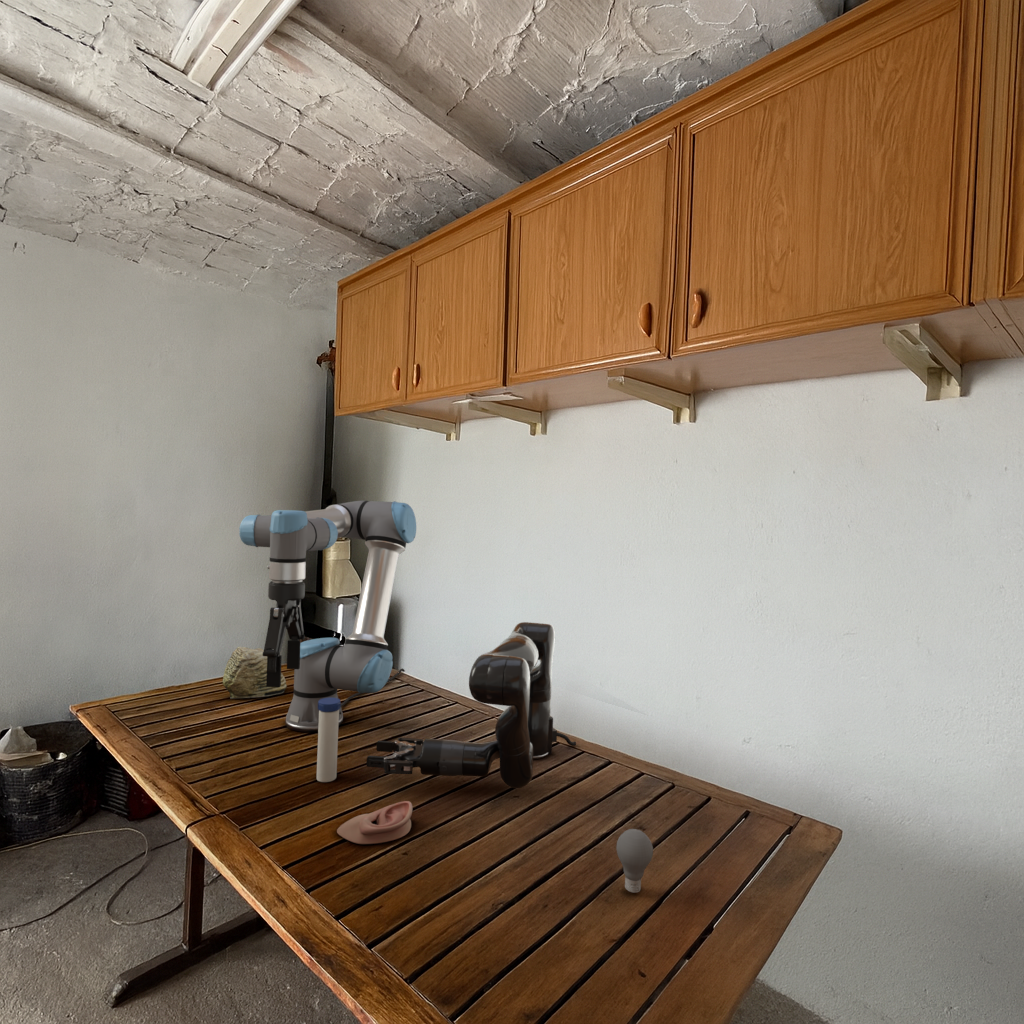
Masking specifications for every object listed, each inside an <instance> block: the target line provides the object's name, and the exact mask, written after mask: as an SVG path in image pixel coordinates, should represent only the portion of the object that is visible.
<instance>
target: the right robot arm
mask: <svg viewBox="0 0 1024 1024" xmlns="http://www.w3.org/2000/svg"><path fill="white" fill-rule="evenodd" d="M555 639H556V632H555V628H554V626H553V624H550V623H540V622H528V621H526V622H525V621H523V622H518V623H517V624H516V625H514V627H513V629H512V630H511V633H510V635H508V637H506V638H505V639H504V640H503V641H502V642H500V644H499V645H497V646H496V647H494V649H492V650H490V651H488V652H485V653H482V654H480V655H479V656H478V657H476V659H475V661H474V662H473V664H472V666H471V669H470V672H469V675H468V676H469V677H468V689H469V692H470V696H472V698H473V699H474V700H475V701H476V702H478V703H480V704H486V705H494V706H505V707H506V708H505V710H503V712H502V713H501V714H500V715H499V717H498V718H497V720H496V723H495V726H494V727H495V728H494V733H495V739H496V740H492V741H486V742H471V741H466V742H465V741H460V740H455V739H440V738H439V739H438V738H425V739H423V738H412V737H401V736H400V737H397V739H395V740H393V741H389V740H377V741H376V746H375V747H376V749H375V750H376V752H380V753H382V752H383V753H393V754H392V755H387V756H381V755H368V756H367V757H366V767H367V768H379V769H380V768H381V769H383V770H384V774H387V775H412V774H413V770H414V768H419V769H420V773H421V775H424V776H438V777H439V776H441V777H462V776H463V777H478V778H479V777H480V778H482V777H483V778H484V777H486V776H488V775H489V773H490V770H491V767H492V764H493V762H494V761H496V760H498V759H499V772H500V773H499V774H500V778H501V779H502V782H503V783H504V784H505V785H506V786H508V787H510V788H513V789H522V788H524V787H527V786H528V785H529V784H530V782H531V781H532V779H533V772H534V760H539V759H545V758H546V757H548V756H550V755H553V754H552V753H553V743H556V742H557V740H558V737H559V738H562V739H563V740H565V742H566V744H568V745H569V746H571V747H574V746H576V745H577V742H576V741H572V740H571V739H570V738H569V736H567V735H566V734H563V733H561V732H559V731H558V730H557V729H556V728H555V727H554V717H553V716H552V715H551V709H552V708H551V707H552V685H553V664H554V653H555V644H556V643H555V642H556V640H555ZM538 661H539V664H538ZM537 664H538V665H537Z"/></svg>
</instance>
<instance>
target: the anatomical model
mask: <svg viewBox="0 0 1024 1024" xmlns="http://www.w3.org/2000/svg"><path fill="white" fill-rule="evenodd" d="M413 811H414V810H413V804H412V802H411V801H409V800H404V801H399V802H396V803H392V804H389V805H387V806H384V807H382V808H380V809H377V810H375V811H373V812H370V813H362V814H358V815H357V816H354V817H352V818H350V819H348V820H347V821H345V822H344V823H342V824H341V825H339V827H338V828H337V829H336V833H337V835H339V837H342V838H343V839H345V840H346V841H349V842H351V843H353V844H357V845H373V844H382V843H388V842H391V841H394V840H398V839H400V838H403V837H404V836H406V835H407V834H408V833H409V832H410V831H411V828H412V820H411V817H412V814H413Z"/></svg>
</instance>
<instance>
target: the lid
mask: <svg viewBox="0 0 1024 1024" xmlns="http://www.w3.org/2000/svg"><path fill="white" fill-rule="evenodd" d="M341 704H342V702H341V699H340V698H339V697H338V698H323V699H320V700H319V701H318V710H320V711H323V712H333V711H337V710H339V709H340V707H341ZM341 708H342V707H341Z"/></svg>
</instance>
